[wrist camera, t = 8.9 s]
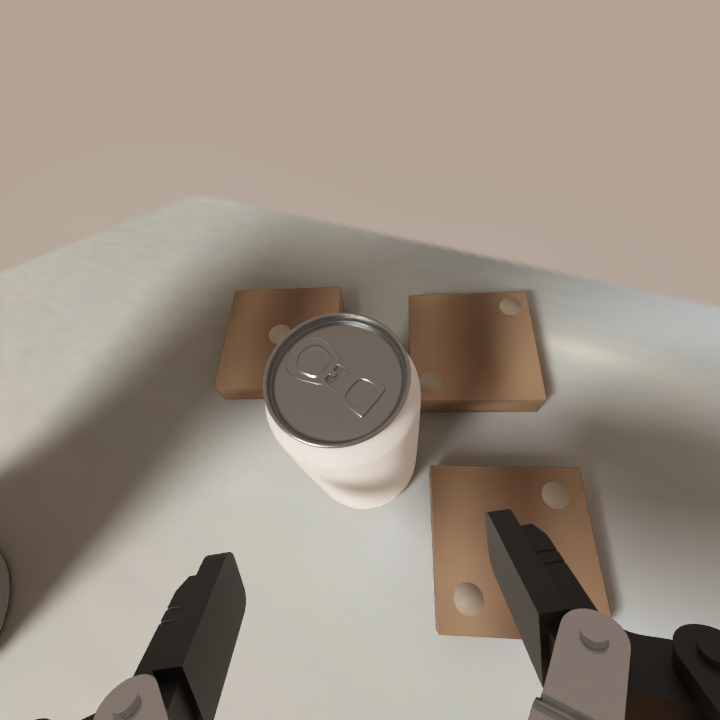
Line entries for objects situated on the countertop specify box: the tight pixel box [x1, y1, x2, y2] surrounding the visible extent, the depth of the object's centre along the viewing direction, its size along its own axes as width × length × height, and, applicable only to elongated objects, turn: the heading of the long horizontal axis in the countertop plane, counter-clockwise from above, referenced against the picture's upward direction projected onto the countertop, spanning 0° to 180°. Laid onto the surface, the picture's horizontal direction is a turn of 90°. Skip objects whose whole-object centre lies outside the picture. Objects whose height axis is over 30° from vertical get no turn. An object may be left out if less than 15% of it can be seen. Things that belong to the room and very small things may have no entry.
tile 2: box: [409, 292, 547, 412], centre depth 27 cm, size 8×8×2 cm
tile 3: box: [429, 466, 611, 639], centre depth 22 cm, size 8×8×2 cm
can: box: [263, 313, 421, 509], centre depth 20 cm, size 6×6×12 cm
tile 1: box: [214, 287, 344, 399], centre depth 29 cm, size 8×8×2 cm
